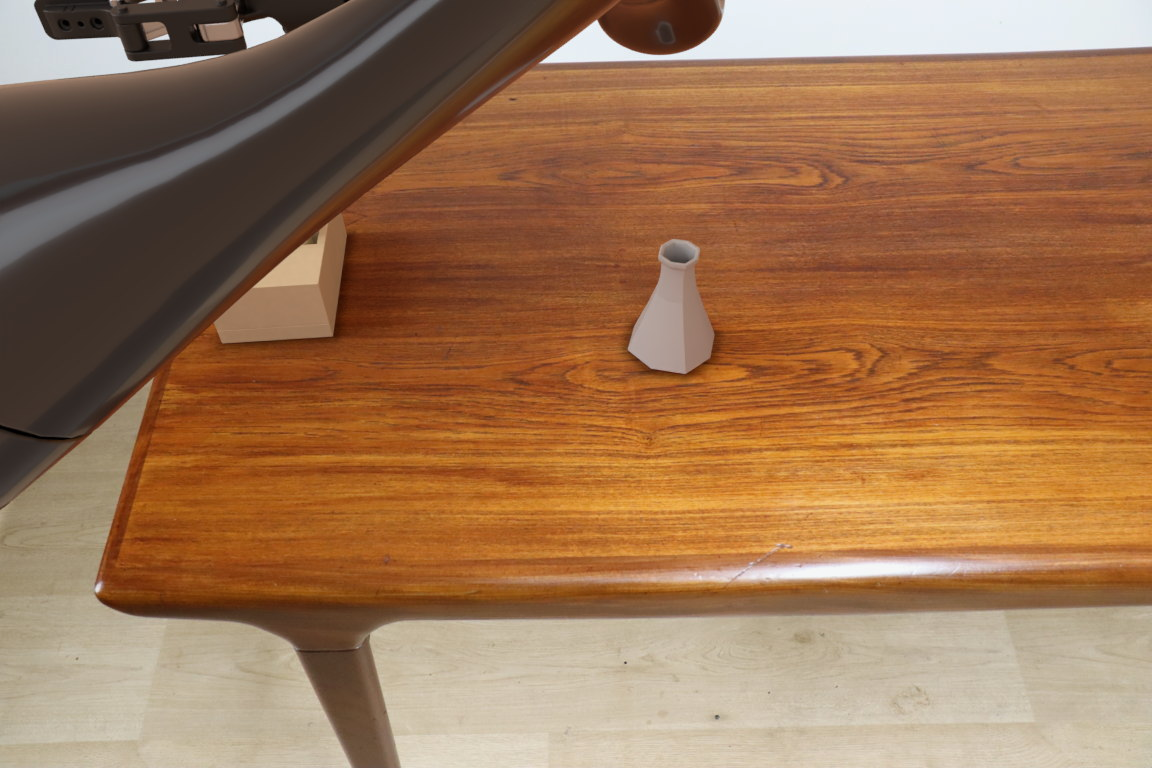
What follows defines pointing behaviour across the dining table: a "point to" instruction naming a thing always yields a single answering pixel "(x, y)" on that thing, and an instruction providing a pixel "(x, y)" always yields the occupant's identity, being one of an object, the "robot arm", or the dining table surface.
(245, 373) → the dining table surface
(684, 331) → the flask
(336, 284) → the tan slotted wooden block
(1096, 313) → the dining table surface
